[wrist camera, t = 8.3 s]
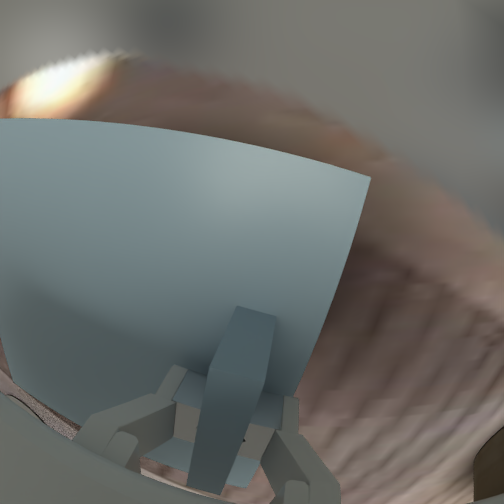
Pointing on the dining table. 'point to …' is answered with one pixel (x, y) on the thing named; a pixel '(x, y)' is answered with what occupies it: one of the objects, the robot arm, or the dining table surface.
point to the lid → (166, 272)
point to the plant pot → (490, 468)
